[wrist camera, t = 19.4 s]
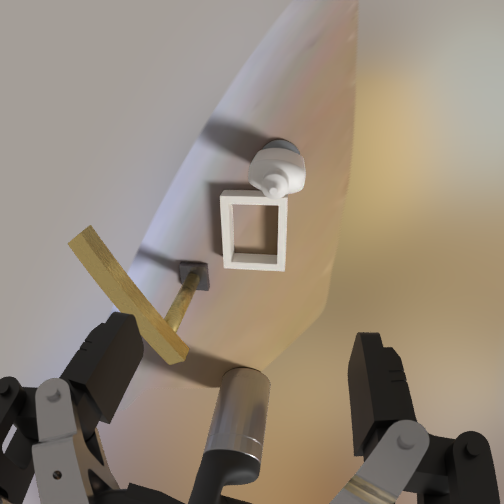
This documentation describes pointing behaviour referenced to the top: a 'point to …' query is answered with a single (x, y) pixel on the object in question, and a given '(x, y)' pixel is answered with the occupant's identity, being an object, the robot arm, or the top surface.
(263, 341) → the top surface
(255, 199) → the white rectangular frame
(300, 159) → the eye dropper bottle
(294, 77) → the top surface
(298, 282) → the top surface
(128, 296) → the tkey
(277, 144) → the grey round disc
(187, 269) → the key plate
